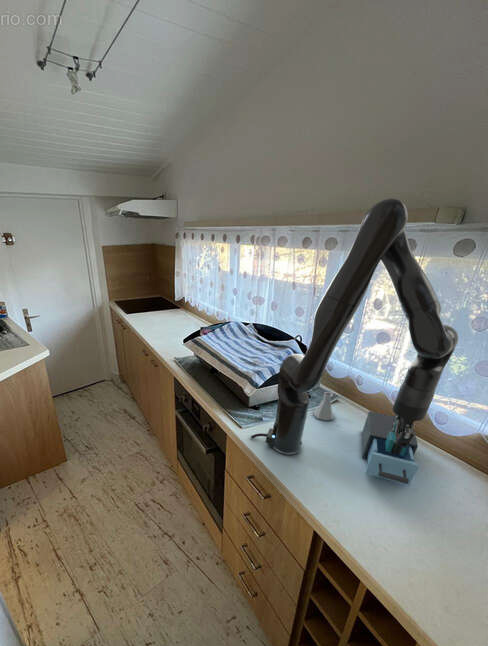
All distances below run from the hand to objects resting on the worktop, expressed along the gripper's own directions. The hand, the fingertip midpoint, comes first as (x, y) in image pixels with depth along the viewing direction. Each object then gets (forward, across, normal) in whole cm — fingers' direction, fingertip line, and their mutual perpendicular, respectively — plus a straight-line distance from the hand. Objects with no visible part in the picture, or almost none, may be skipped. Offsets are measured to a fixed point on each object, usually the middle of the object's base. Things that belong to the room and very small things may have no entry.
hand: (394, 448), depth 90 cm
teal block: (0, 0, 0) cm, 0 cm away
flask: (+9, +24, +20) cm, 32 cm away
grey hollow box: (+9, +11, 0) cm, 14 cm away
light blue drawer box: (+8, -1, 0) cm, 8 cm away
